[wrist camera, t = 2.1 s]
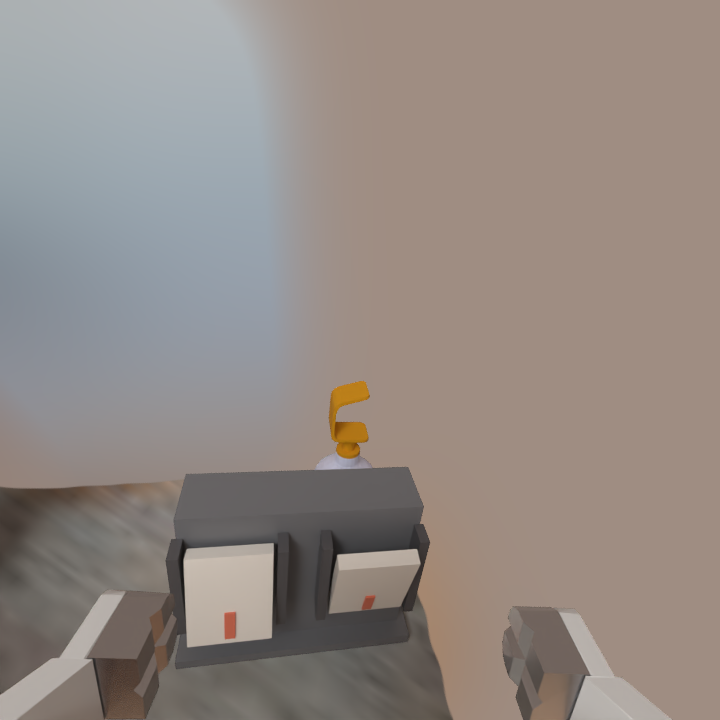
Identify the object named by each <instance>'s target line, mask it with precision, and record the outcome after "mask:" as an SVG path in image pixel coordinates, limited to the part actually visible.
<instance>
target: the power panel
mask: <svg viewBox="0 0 720 720" xmlns="http://www.w3.org/2000/svg"><path fill="white" fill-rule="evenodd" d="M423 508H424V506H423V503H422V501H421V499H420V496H419V493H418V491H417V488H416V486H415V483H414V481H413V478H412V476H411V473H410V471H409V468H408V467H392V468H361V469H330V470H301V471H269V472H241V473H239V472H238V473H207V474H186V476H185V480H184V483H183V487H182V491H181V494H180V498H179V502H178V505H177V509H176V513H175V516H174V528H175V536H176V539H171V543H170V546H169V550H168V554H167V558H166V567H167V574H168V581H169V588H170V594H174V599H175V607H174V609H173V615H174V616H175V617H176V619H177V635H180V640H179V645H178V650H177V655H176V660H175V666H176V669H180V668H188V667H197V666H205V665H214V664H222V663H231V662H239V661H248V660H256V659H265V658H273V657H281V656H290V655H298V654H307V653H315V652H324V651H332V650H341V649H349V648H358V647H366V646H374V645H383V644H391V643H400V642H407V641H408V638H409V634H408V630H407V626H406V622H405V618H404V614H403V611H412V610H413V606H414V602H415V598H416V594H417V590H418V586H419V582H420V579H421V575H422V571H423V567H424V563H425V560H426V556H427V552H428V548H429V544H430V541H429V538H428V535H427V533H426V530H425V527H424V525H423V524H420V521H421V516H422V512H423ZM267 543H274V559H273V604H272V638H269V639H260V640H251V641H242V642H233V643H223V644H214V645H205V646H196V647H187V632H186V608H185V584H184V557H185V553H186V550H187V549H190V548H206V547H221V546H236V545H251V544H267ZM409 549H417V551H418V555H419V559H420V563H421V564H420V566H419V568H418V571H417V573H416V575H415V577H414V579H413V581H412V583H411V585H410V587H409V589H408V591H407V593H406V595H405V598H404V600H403V602H402V607H403V611H402V607H401V606H400V607H392V608H382V609H372V610H362V611H352V612H342V613H332V614H329V610H328V595H329V591H330V586H331V581H332V577H333V572H334V568H335V563H336V559H337V555H340V554H354V553H368V552H381V551H395V550H409Z"/></svg>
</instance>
